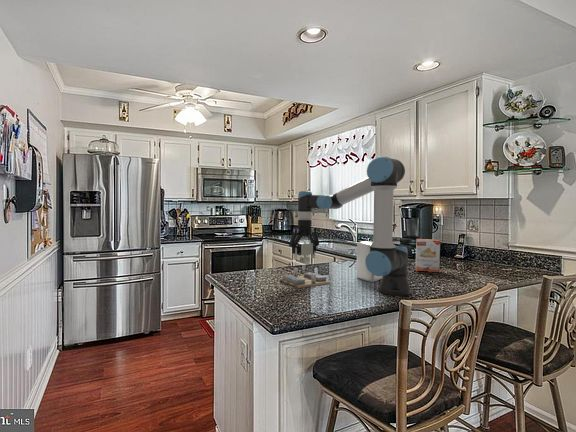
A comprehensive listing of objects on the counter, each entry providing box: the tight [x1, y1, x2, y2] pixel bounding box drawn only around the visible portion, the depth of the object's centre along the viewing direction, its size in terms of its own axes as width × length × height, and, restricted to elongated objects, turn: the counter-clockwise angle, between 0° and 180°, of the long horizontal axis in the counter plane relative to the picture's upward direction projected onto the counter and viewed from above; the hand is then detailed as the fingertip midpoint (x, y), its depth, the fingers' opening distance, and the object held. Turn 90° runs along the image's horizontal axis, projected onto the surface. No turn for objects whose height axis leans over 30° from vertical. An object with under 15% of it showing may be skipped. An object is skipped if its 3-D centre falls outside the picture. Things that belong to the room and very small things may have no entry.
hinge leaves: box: [282, 267, 327, 284], centre depth 190 cm, size 20×19×5 cm
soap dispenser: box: [356, 240, 382, 283], centre depth 199 cm, size 15×14×22 cm
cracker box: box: [415, 238, 441, 273], centre depth 222 cm, size 14×6×21 cm, turn 73°
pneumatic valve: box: [296, 240, 317, 264], centre depth 190 cm, size 6×12×12 cm, turn 119°
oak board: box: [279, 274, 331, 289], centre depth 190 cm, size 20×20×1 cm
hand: (304, 258), depth 190 cm, fingers closed on pneumatic valve, 11 cm apart
